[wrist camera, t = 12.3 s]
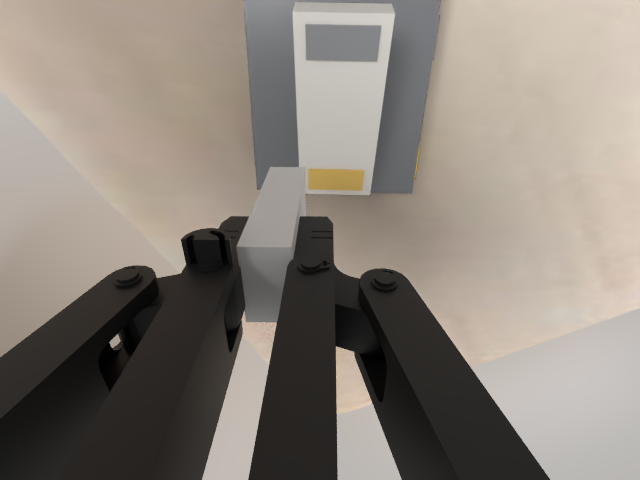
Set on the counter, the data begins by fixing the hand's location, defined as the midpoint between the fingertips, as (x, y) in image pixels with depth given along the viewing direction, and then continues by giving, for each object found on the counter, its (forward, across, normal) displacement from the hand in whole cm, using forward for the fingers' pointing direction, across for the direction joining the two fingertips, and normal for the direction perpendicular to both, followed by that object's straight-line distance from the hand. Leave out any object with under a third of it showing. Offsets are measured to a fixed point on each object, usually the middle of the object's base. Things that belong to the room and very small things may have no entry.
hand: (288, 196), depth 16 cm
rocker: (+8, +2, +2) cm, 8 cm away
